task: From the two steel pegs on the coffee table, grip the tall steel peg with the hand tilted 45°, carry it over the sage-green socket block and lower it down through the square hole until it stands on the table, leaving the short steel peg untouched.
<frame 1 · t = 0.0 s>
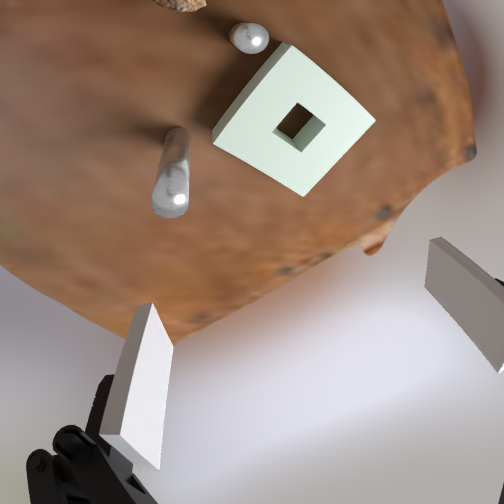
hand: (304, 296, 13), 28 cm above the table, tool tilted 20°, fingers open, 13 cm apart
tall peg: (178, 138, 35), on the table
socket block: (290, 116, 35), on the table
short peg: (243, 35, 26), on the table
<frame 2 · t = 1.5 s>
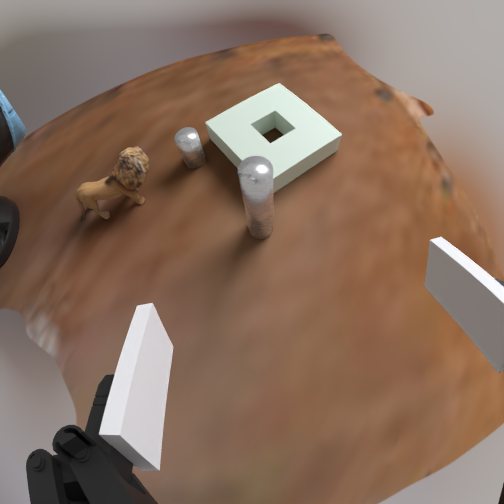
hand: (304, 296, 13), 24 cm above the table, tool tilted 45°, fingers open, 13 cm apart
lion figurine: (123, 199, 43), on the table
tall peg: (260, 227, 40), on the table
socket block: (273, 142, 44), on the table
short peg: (195, 160, 44), on the table
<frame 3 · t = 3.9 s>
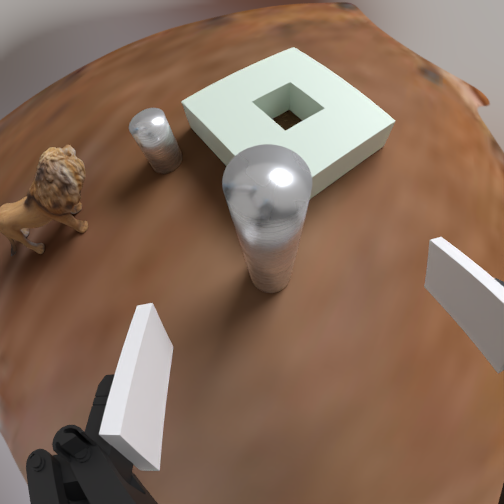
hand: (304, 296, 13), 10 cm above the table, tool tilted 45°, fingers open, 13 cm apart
lion figurine: (61, 223, 27), on the table
tall peg: (270, 273, 24), on the table
socket block: (287, 132, 28), on the table
short peg: (167, 160, 28), on the table
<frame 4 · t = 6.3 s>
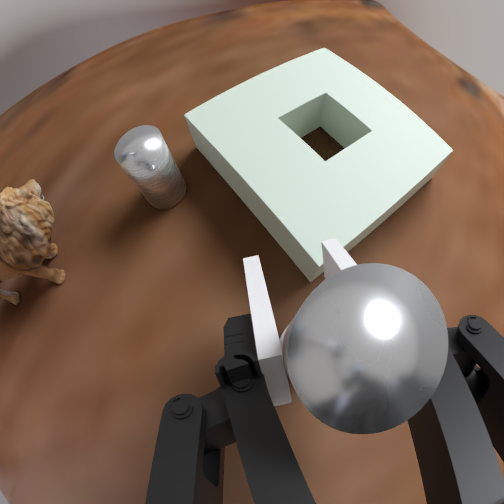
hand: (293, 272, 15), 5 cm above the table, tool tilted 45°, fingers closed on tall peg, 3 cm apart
lion figurine: (36, 269, 21), on the table
tall peg: (302, 347, 18), on the table, touching gripper
socket block: (319, 156, 22), on the table
short peg: (166, 190, 22), on the table
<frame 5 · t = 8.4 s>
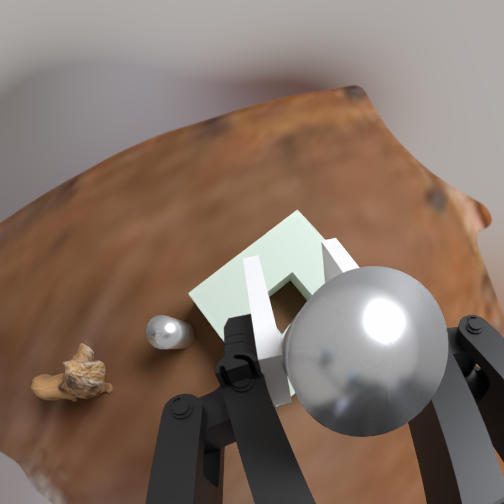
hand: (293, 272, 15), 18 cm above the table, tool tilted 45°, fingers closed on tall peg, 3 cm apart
lion figurine: (87, 378, 31), on the table
tall peg: (302, 348, 18), point 13 cm above the table, touching gripper
socket block: (287, 309, 32), on the table
short peg: (180, 334, 32), on the table
when the fingers open (6 cm above the table, at t = 10.7 s): tall peg drops 1 cm, resting in socket block.
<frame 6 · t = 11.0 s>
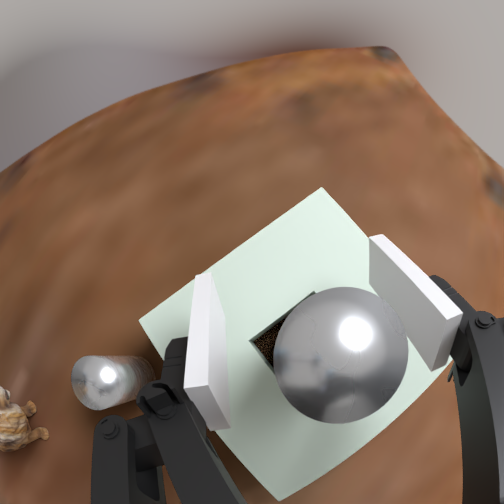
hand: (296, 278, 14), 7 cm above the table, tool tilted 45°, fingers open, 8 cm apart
lion figurine: (22, 416, 19), on the table
tall peg: (299, 348, 20), resting in socket block
socket block: (300, 347, 20), on the table
short peg: (136, 376, 20), on the table
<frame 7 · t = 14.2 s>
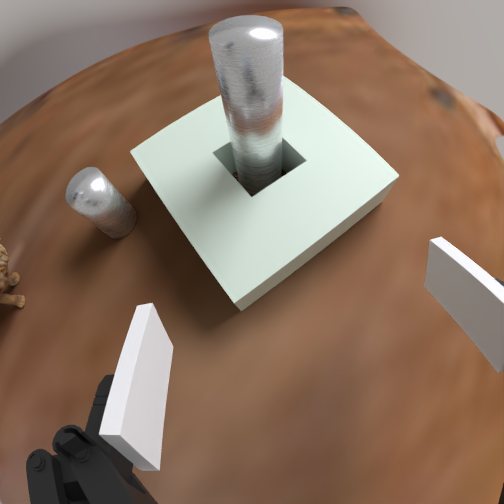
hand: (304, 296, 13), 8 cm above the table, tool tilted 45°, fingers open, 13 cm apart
lion figurine: (4, 293, 23), on the table
tall peg: (260, 185, 23), resting in socket block
socket block: (261, 185, 23), on the table
short peg: (120, 220, 24), on the table
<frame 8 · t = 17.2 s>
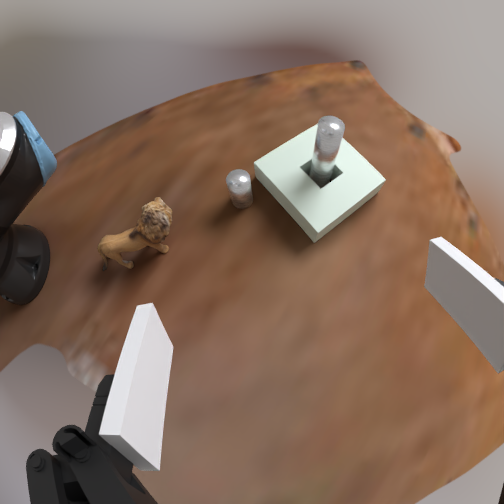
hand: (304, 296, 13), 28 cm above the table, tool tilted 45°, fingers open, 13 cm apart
lion figurine: (145, 247, 45), on the table
tall peg: (318, 183, 46), resting in socket block
socket block: (318, 183, 46), on the table
short peg: (242, 199, 46), on the table
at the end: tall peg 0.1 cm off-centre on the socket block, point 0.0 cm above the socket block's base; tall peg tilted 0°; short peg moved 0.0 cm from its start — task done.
